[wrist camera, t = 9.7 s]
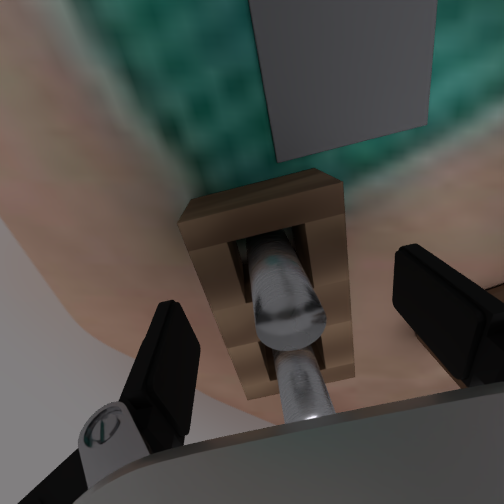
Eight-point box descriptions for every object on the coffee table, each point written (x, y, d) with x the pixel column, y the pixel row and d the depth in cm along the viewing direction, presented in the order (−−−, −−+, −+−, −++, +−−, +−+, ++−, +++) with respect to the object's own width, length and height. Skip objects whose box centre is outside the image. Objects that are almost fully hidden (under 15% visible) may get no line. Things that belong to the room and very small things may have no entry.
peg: (240, 221, 19) (248, 306, 10) (279, 211, 19) (323, 288, 10) (249, 254, 20) (263, 357, 11) (286, 246, 20) (329, 342, 11)
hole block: (191, 199, 18) (176, 223, 13) (314, 167, 17) (342, 181, 13) (244, 351, 25) (247, 400, 20) (332, 331, 24) (355, 377, 20)
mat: (240, -42, 12) (240, -47, 12) (440, -101, 12) (446, -108, 12) (277, 162, 17) (278, 162, 17) (422, 124, 16) (427, 124, 16)
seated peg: (262, 302, 22) (282, 419, 13) (295, 295, 22) (337, 407, 13) (269, 326, 24) (291, 447, 15) (299, 319, 24) (340, 436, 15)
